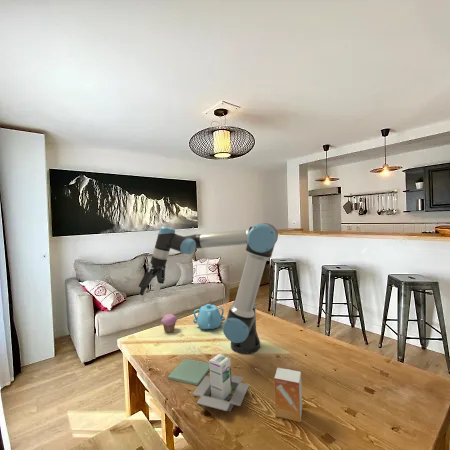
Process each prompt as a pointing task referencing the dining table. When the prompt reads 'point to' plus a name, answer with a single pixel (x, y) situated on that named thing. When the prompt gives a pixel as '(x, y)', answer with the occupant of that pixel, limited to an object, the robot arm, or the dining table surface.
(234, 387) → the grey open box frame
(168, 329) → the cupcake
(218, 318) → the decorative pot
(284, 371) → the small box
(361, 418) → the dining table surface
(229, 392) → the syrup box
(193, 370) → the mat
